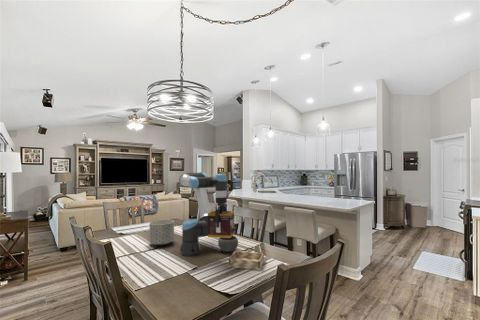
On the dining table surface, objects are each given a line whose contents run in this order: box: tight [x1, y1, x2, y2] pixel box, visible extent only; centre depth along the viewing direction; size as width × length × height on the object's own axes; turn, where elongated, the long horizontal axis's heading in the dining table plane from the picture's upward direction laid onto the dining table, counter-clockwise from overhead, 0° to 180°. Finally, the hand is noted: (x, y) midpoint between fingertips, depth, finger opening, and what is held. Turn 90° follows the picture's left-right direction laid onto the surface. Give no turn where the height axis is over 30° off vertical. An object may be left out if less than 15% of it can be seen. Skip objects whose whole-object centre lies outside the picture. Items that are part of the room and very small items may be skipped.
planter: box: [148, 218, 175, 247], centre depth 198 cm, size 19×19×18 cm
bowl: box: [217, 235, 239, 253], centre depth 182 cm, size 15×15×10 cm
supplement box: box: [207, 210, 235, 239], centre depth 162 cm, size 10×15×16 cm
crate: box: [228, 250, 265, 271], centre depth 158 cm, size 20×15×5 cm
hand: (221, 230), depth 162 cm, fingers closed on supplement box, 10 cm apart
